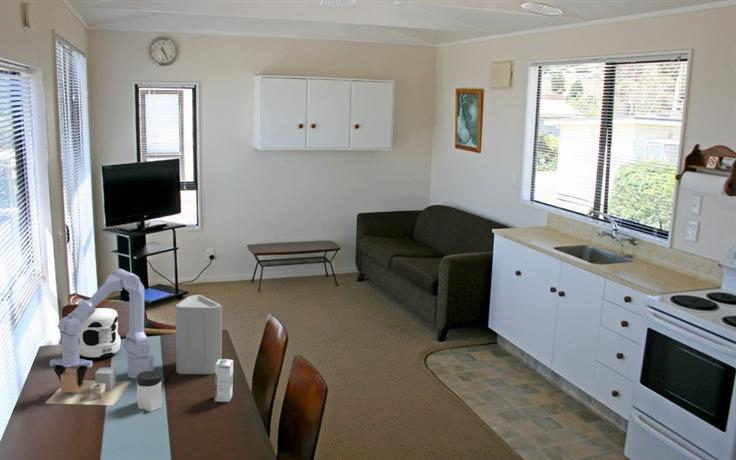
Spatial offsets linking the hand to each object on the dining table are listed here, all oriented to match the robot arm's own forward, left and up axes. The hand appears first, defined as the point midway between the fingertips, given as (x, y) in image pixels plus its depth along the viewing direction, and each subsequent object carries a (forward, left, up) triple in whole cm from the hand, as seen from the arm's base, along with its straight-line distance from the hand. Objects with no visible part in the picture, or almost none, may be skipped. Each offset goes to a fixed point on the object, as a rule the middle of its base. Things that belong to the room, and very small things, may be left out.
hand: (72, 384), depth 241 cm
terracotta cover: (0, 0, -2) cm, 2 cm away
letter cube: (-10, +2, -3) cm, 11 cm away
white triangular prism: (-38, -28, -4) cm, 47 cm away
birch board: (-6, -1, -4) cm, 7 cm away
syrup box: (-55, -1, -4) cm, 55 cm away
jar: (-30, +7, -4) cm, 31 cm away
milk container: (+5, -40, -4) cm, 41 cm away
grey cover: (-10, -6, -3) cm, 12 cm away
